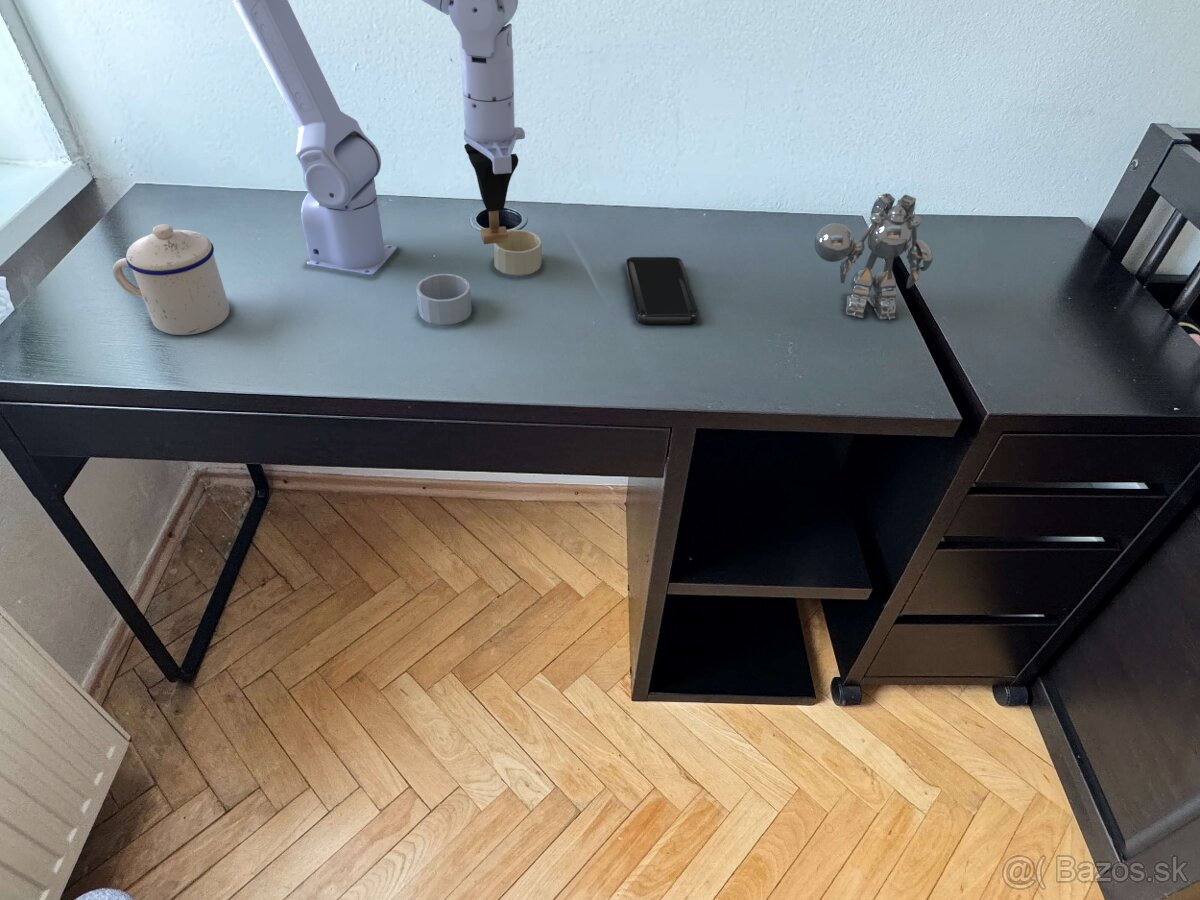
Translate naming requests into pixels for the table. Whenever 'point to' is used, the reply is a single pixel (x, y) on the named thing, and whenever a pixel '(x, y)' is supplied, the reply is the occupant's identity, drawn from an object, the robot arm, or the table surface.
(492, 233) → the wooden wall peg
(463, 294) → the grey cup
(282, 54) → the robot arm
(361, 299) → the table surface
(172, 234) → the teacup with lid
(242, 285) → the table surface
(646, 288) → the phone
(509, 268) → the cream cup
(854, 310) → the robot toy
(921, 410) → the table surface
